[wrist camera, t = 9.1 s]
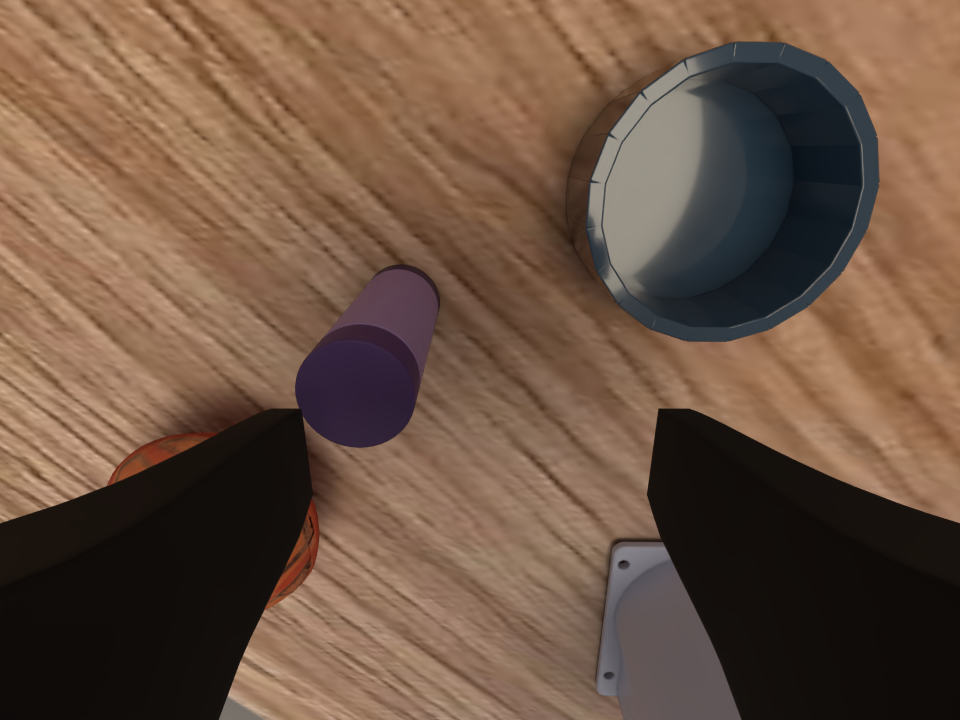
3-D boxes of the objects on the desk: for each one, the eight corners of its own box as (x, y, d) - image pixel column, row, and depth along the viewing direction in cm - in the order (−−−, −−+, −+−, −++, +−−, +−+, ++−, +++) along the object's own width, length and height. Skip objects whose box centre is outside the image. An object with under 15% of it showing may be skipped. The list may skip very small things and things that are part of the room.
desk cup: (772, 308, 20) (838, 343, 17) (558, 306, 20) (576, 341, 17) (824, 65, 17) (917, 43, 14) (574, 63, 17) (600, 39, 14)
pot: (117, 517, 24) (-3, 612, 17) (208, 369, 23) (122, 407, 16) (280, 600, 25) (228, 717, 18) (369, 462, 24) (350, 531, 18)
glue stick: (440, 336, 21) (417, 449, 13) (368, 335, 21) (301, 448, 13) (439, 264, 20) (412, 339, 12) (363, 263, 20) (286, 339, 12)
